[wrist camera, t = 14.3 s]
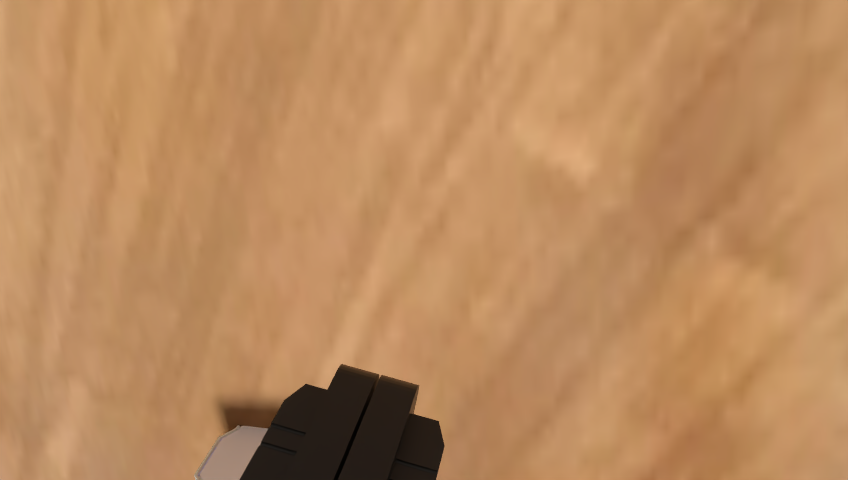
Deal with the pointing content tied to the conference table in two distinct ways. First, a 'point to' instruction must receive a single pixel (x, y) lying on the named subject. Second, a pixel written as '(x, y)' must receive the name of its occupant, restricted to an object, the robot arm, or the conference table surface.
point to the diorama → (231, 454)
